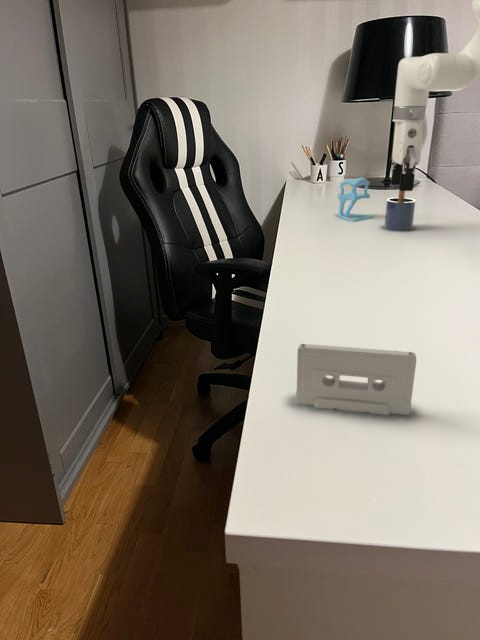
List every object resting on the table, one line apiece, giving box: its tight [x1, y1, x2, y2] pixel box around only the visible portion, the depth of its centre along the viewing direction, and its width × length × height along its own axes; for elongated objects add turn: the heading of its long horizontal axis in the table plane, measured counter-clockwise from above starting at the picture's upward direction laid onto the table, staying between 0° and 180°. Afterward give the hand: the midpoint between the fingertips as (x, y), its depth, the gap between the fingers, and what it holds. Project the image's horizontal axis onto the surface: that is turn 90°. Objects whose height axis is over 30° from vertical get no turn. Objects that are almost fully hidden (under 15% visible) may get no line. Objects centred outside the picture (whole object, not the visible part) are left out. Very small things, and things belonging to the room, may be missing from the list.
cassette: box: [295, 343, 417, 416], centre depth 53 cm, size 12×2×8 cm, turn 77°
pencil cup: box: [383, 197, 416, 232], centre depth 130 cm, size 7×7×8 cm
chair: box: [337, 177, 372, 222], centre depth 144 cm, size 8×8×12 cm
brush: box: [397, 189, 406, 202], centre depth 129 cm, size 2×2×13 cm
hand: (401, 187), depth 127 cm, fingers open, 9 cm apart
